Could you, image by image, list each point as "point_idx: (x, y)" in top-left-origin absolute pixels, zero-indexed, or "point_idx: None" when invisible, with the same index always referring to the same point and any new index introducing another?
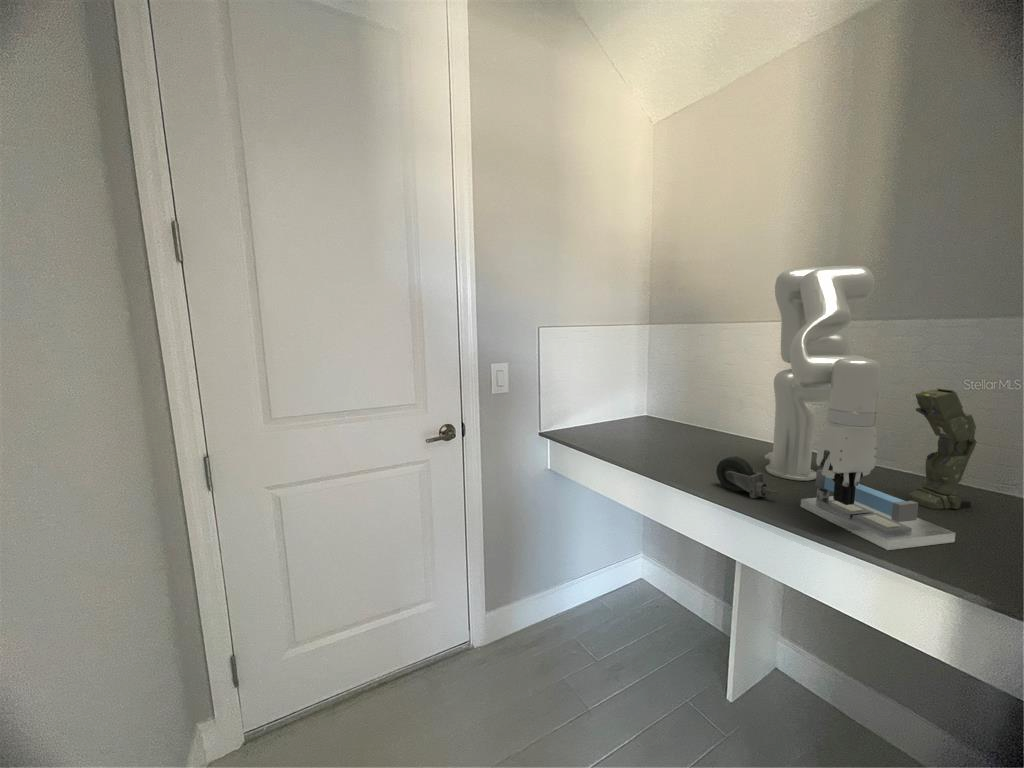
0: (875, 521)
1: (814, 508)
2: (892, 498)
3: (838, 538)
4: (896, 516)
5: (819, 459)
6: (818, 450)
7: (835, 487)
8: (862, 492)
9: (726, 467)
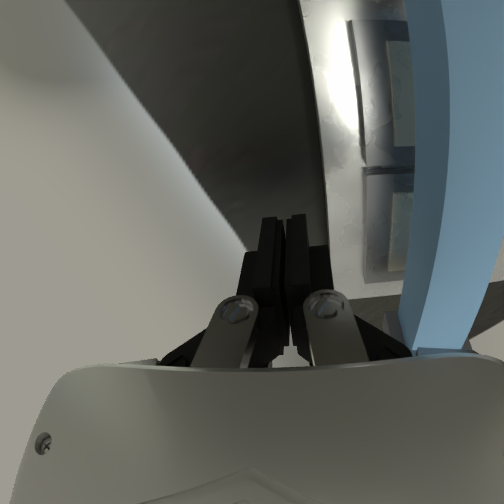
0: (394, 236)
1: (304, 28)
2: (452, 326)
3: (245, 217)
4: None
5: (50, 443)
6: (18, 498)
7: (237, 291)
8: (432, 243)
9: None
